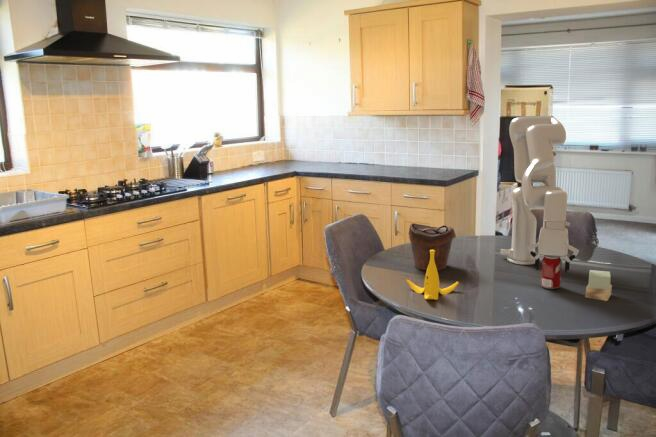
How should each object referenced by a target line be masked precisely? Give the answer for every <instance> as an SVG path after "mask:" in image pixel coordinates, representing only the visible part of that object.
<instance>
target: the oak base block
mask: <svg viewBox="0 0 656 437" xmlns="http://www.w3.org/2000/svg"><path fill="white" fill-rule="evenodd" d="M612 288H613V284H610V290H606V289H596V288H589V283H588V284H587V285H586V287H585V296H584V298H588V299H592V300H593V299H594V300H600V301H604V302H607V301H609V298H610V297H611V296H612Z"/></svg>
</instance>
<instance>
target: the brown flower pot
mask: <svg viewBox="0 0 656 437" xmlns="http://www.w3.org/2000/svg"><path fill="white" fill-rule="evenodd" d="M408 228H409V230H408V239H409V241H410V248H411V252H412V258H413V262H414V266H415V268H417V269H419V270H421V271H427V268H428V265H429V262H430V250H435V253H434V261H435V265H436V268H437V271H441V270H445V269H446V268H447V267H448V266H447V265H448V262H449V257H450V252H451V248H452V244H453V239H455V238H456V237H457V235H456V232H455V230H454V228H453V227H451V226H450V227H448V226H447V225H442V226H439V227H437V226H430V225H425V224H418V223H413V222H412V223H410V225H409V227H408Z"/></svg>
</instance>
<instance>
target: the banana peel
mask: <svg viewBox="0 0 656 437" xmlns="http://www.w3.org/2000/svg"><path fill="white" fill-rule="evenodd" d="M434 253H435V250H430V262H429V265H428V268H427V270H425V271H426V273H425V274H424V284H423V285H424V286H423V287H421V286H418V285H416V284H415V283H414V282H412V281H411V280H410V279H406V283H407V284H408V286H409V287H410V288H411V289H412V291H414V292H415V293H417V294H419V295H420V294H424V295H423V296H424V299H425V300H435V301H437V300H438V299H439V295H442V296H444V295H445V296H446V295H449V294H451V292H453V290H455V289H456V287H457V286H458V285H459V284H460V282H459V281H456V282H455V283H453V284H451V285H450V286H447V287H445V288H441V287H440V276H439V273H438V271H439V270H437V268H436V265H435V261H434Z"/></svg>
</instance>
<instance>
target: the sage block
mask: <svg viewBox="0 0 656 437" xmlns="http://www.w3.org/2000/svg"><path fill="white" fill-rule="evenodd" d="M588 284H589V288H596V289H606V290H610V285H611V271H607V270H606V271H605V270H596V269H595V270H593V269H589V274H588Z"/></svg>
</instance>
